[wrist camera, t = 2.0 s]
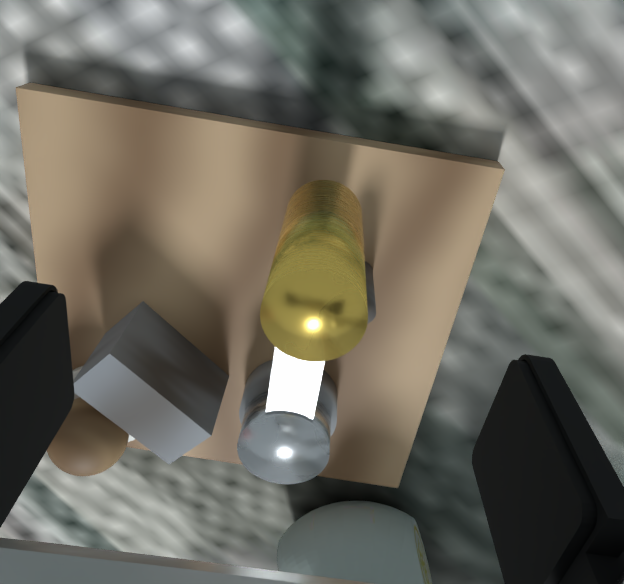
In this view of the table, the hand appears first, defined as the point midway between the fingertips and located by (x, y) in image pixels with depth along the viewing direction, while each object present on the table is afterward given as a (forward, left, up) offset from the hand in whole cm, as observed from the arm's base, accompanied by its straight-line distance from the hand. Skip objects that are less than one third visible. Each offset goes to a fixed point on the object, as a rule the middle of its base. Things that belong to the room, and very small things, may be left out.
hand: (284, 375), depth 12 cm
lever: (-1, +7, -12) cm, 13 cm away
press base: (+2, +8, -15) cm, 17 cm away
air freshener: (-7, +24, -15) cm, 29 cm away
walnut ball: (+9, +15, -13) cm, 22 cm away
